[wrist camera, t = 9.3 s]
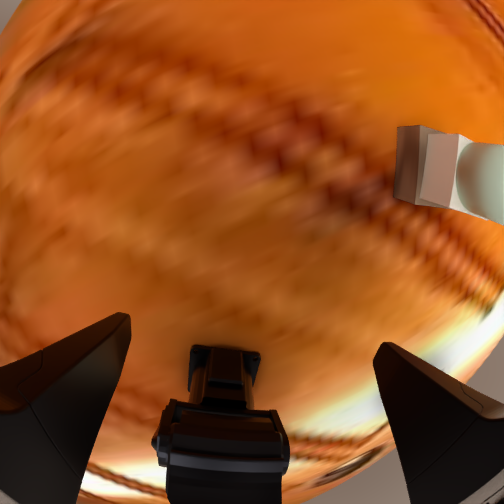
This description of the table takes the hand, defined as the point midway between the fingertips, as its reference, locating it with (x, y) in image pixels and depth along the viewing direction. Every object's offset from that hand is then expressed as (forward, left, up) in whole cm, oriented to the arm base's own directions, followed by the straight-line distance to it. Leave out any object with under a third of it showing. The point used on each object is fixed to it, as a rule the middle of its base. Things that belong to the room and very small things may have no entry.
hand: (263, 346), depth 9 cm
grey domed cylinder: (+9, -14, -6) cm, 18 cm away
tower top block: (+9, -14, -10) cm, 19 cm away
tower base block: (+9, -14, -13) cm, 21 cm away
